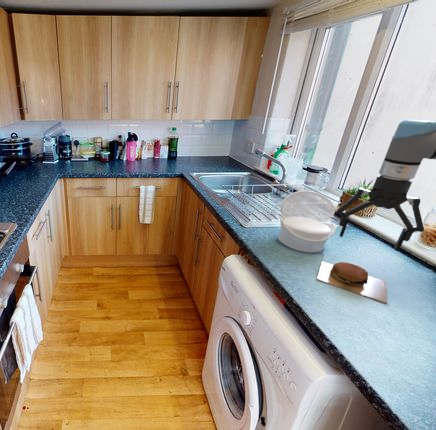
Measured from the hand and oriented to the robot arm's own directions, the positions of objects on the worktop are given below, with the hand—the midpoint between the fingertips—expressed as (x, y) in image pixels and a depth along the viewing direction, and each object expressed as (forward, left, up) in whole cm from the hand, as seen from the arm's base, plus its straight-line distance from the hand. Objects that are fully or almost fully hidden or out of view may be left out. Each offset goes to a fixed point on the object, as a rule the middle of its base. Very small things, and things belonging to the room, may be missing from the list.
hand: (367, 241), depth 90 cm
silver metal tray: (0, +1, -15) cm, 15 cm away
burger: (+1, 0, -15) cm, 15 cm away
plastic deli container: (+18, -18, -15) cm, 30 cm away
